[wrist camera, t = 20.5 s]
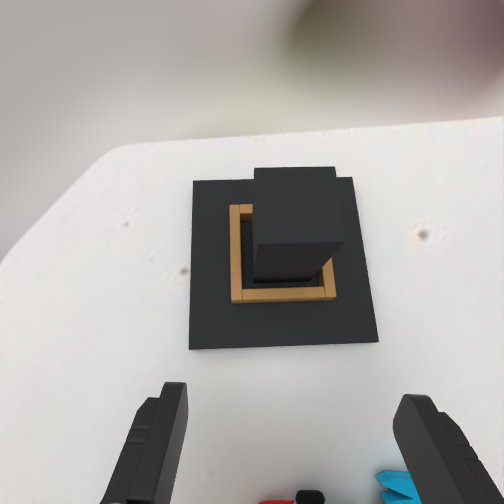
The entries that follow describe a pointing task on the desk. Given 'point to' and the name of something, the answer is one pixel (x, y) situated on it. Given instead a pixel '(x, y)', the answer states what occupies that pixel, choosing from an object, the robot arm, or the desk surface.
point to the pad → (271, 294)
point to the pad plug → (294, 222)
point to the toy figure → (396, 500)
